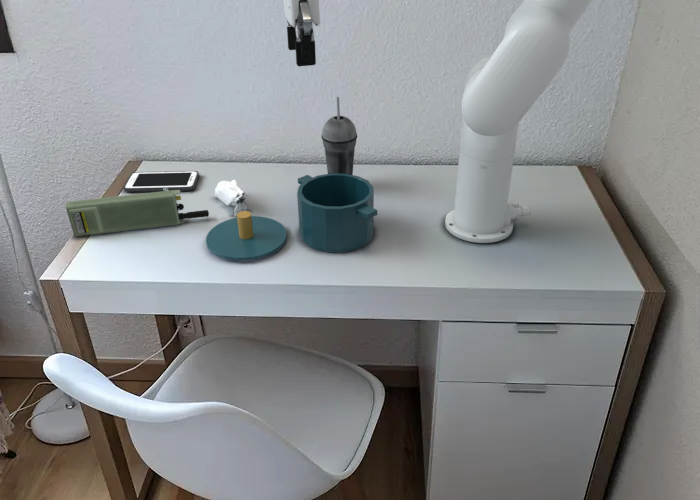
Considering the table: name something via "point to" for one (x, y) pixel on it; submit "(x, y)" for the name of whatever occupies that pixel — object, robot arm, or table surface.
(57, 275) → the table surface
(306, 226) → the teal cooking pot
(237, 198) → the white tied bag
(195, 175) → the cell phone
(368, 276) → the table surface
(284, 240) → the lid
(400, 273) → the table surface
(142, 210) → the handheld radio
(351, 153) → the beverage cup
